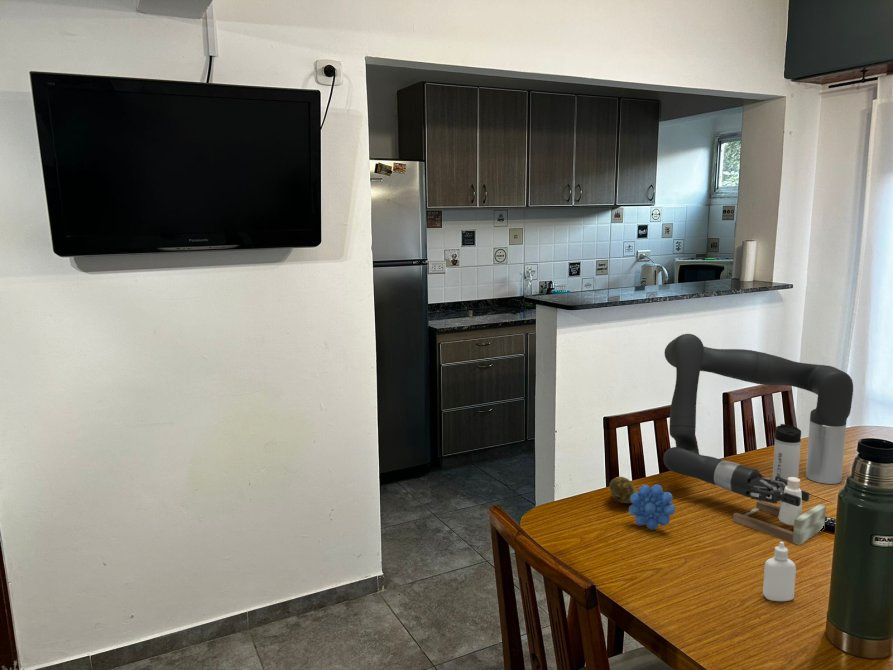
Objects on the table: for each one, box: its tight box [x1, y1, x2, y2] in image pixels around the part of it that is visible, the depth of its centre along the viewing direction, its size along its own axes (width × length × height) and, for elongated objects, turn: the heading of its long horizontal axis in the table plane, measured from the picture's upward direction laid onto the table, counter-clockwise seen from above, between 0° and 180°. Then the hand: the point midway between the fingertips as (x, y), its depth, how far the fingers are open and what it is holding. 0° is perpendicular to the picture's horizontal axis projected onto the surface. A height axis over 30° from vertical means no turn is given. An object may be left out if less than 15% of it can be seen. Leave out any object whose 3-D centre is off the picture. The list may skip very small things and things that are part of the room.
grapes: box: [628, 484, 676, 530], centre depth 167 cm, size 12×7×12 cm, turn 53°
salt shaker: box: [777, 477, 803, 526], centre depth 164 cm, size 5×5×11 cm
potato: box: [609, 476, 638, 504], centre depth 183 cm, size 8×13×8 cm, turn 141°
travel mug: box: [771, 423, 802, 490], centre depth 183 cm, size 6×7×20 cm
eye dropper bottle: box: [762, 541, 797, 602], centre depth 136 cm, size 4×6×12 cm
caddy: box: [732, 500, 827, 546], centre depth 168 cm, size 13×16×6 cm
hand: (804, 499), depth 162 cm, fingers closed on salt shaker, 4 cm apart
